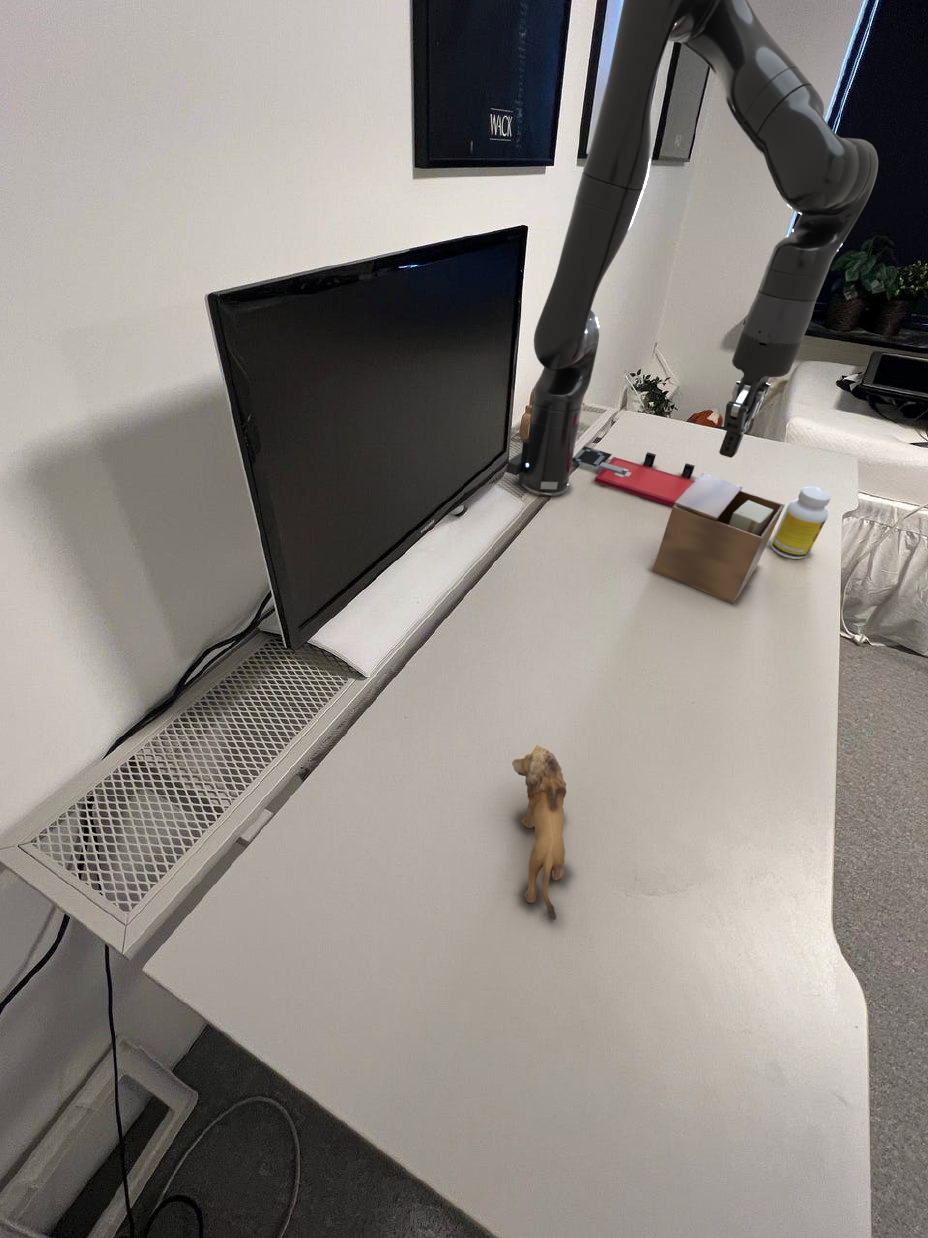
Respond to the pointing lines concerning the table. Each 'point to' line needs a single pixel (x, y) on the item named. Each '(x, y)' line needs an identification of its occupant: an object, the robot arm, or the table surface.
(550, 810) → the lion figurine
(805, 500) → the pill bottle
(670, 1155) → the table surface
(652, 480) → the red board with handle
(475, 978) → the table surface
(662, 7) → the robot arm
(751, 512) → the cosmetic box
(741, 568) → the carton
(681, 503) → the flap
